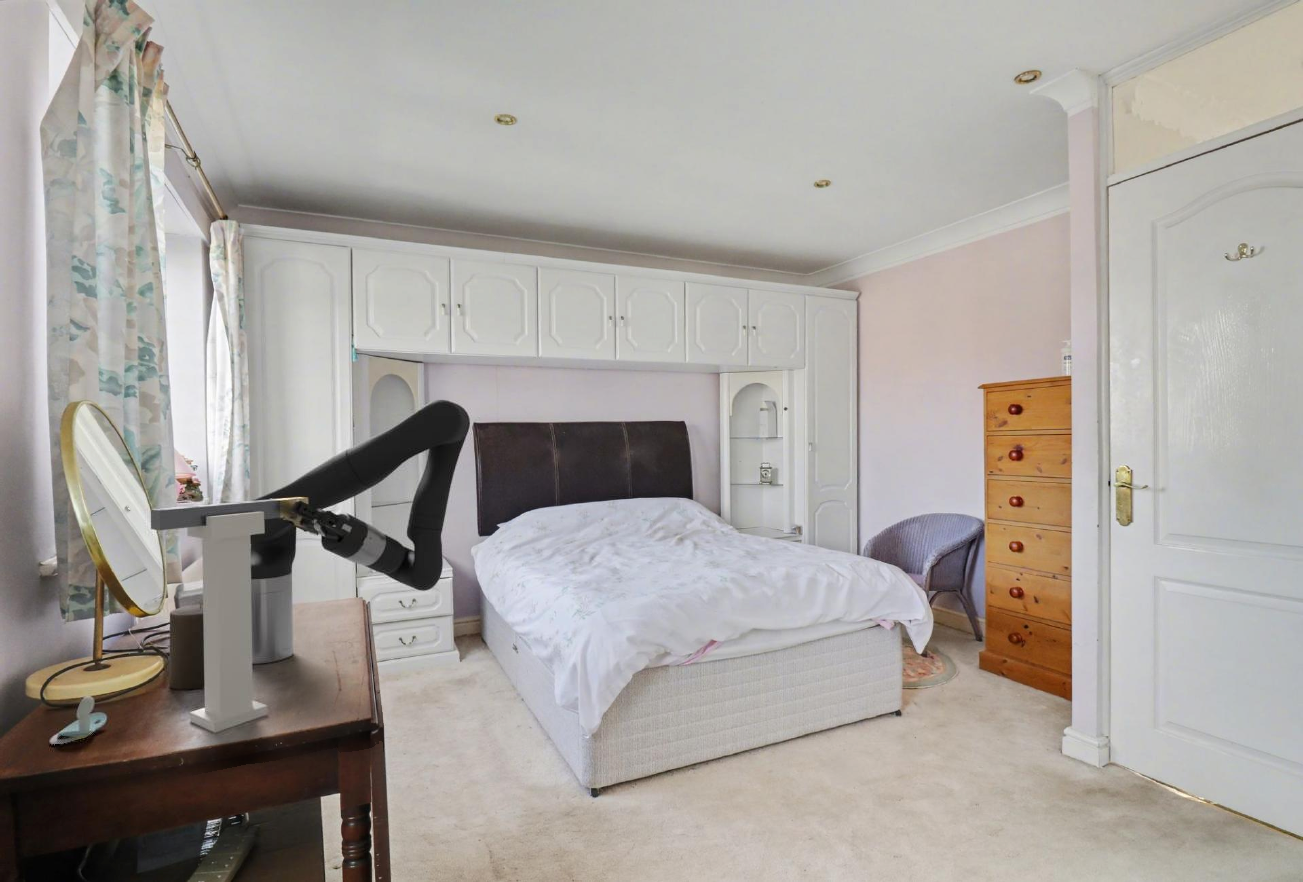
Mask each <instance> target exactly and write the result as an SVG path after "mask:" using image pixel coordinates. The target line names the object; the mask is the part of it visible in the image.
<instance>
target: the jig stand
mask: <svg viewBox="0 0 1303 882" xmlns="http://www.w3.org/2000/svg"><path fill="white" fill-rule="evenodd" d="M186 529H187V531H186V532H187V537H193V538H199V539H201V540H202V541H201V543H202V544H201V545H202V553H201V554H202V603H203V622H204V688H203V689H204V707H202V708H199V709H196V710H192V711H190V712H189V713H190V714H189V715H190V716H189V718H190V719H189V722H191V723H193V724H195V725H196V726H199V727H201V728H203V729H206V730H208V731H210V732H213V733H218V732H221V731H224V730H227V729H229V728H233V727H235V726H238V725H241V724H244V723H246V722H249V721H253V720H256V719H258V718H261V717H264V716H267V715H268V705H266V704H264V703H261V702H259V701H256V700H254V698H253V697H254V696H253V694H254V693H253V692H254V691H253V690H254V689H253V687H254V686H253V685H254V683H253V681H254V680H253V664H252V613H251V544H250V535H254V534H262V533H265V531H264V512H260V511H258V512H248V513H237V514H227V515H216V516H206V526H197V527H187V528H186Z"/></svg>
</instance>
